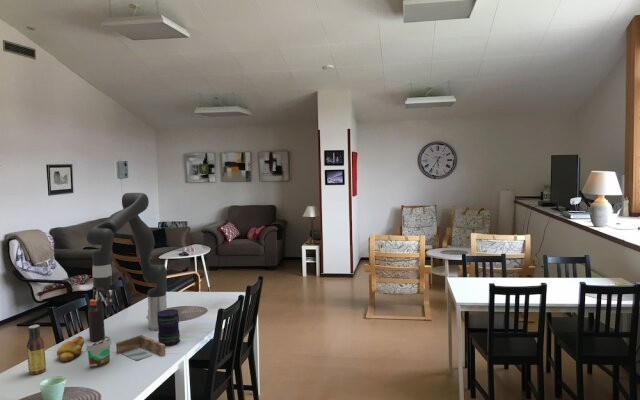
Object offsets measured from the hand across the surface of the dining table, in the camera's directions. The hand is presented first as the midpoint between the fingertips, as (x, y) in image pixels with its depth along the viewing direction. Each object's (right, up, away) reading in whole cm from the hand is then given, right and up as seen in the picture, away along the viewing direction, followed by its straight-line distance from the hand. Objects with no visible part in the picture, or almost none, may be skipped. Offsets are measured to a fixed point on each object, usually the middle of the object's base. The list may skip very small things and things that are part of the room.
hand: (104, 312), depth 201 cm
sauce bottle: (-25, -24, -6) cm, 35 cm away
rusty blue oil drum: (+20, -21, +24) cm, 38 cm away
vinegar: (-17, -21, +30) cm, 41 cm away
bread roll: (-20, -23, +9) cm, 32 cm away
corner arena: (+12, -22, +11) cm, 27 cm away
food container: (-1, -23, +2) cm, 23 cm away
